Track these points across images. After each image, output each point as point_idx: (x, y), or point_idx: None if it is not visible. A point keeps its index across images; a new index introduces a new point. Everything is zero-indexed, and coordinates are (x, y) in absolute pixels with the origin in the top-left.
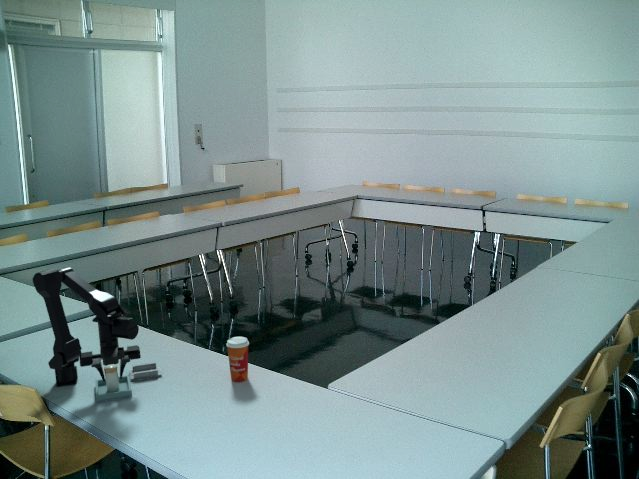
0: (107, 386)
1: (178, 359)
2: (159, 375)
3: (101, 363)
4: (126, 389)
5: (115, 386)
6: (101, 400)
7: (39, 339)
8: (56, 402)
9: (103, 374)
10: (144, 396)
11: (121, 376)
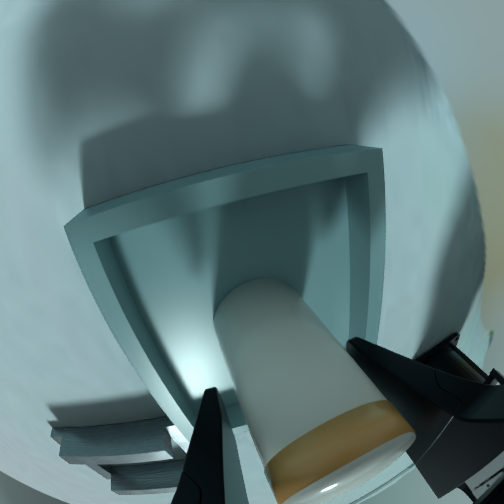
0: (311, 310)
1: (82, 488)
2: (58, 433)
3: (428, 469)
4: (158, 318)
5: (244, 313)
6: (323, 149)
7: (404, 464)
8: (478, 205)
9: (399, 378)
10: (7, 212)
11: (204, 409)
